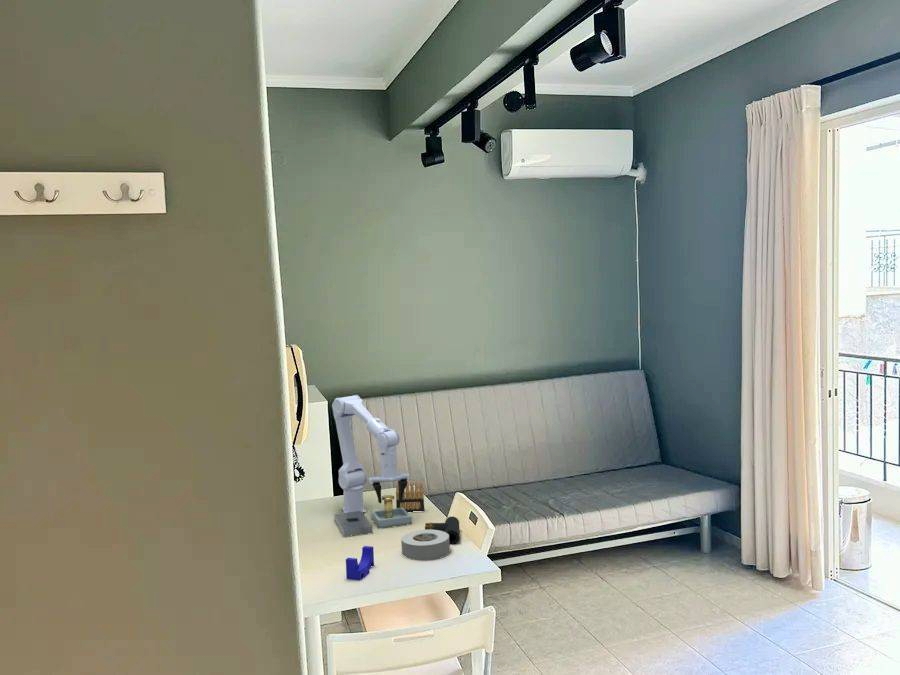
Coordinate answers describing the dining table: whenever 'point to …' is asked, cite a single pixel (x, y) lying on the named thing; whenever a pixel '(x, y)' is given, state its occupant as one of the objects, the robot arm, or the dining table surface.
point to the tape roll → (425, 544)
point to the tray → (398, 518)
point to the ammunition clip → (411, 498)
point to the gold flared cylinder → (388, 506)
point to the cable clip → (360, 564)
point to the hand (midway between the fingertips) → (390, 501)
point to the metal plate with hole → (353, 523)
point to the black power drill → (447, 528)
